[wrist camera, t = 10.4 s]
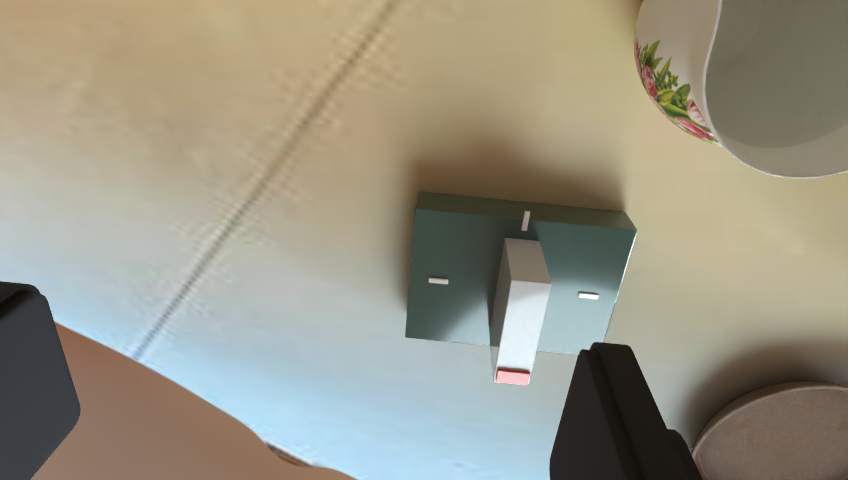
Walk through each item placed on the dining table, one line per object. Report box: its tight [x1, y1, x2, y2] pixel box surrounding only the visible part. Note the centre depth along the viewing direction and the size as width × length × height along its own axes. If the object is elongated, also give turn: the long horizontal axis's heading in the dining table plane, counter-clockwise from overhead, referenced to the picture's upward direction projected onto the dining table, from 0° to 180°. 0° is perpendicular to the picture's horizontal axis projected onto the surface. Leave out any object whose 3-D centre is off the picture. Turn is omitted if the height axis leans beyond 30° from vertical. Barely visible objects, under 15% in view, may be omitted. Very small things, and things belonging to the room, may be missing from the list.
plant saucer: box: [691, 381, 848, 480], centre depth 46 cm, size 18×18×3 cm
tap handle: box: [489, 238, 552, 385], centre depth 35 cm, size 8×2×6 cm, turn 176°
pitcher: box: [634, 0, 848, 179], centre depth 26 cm, size 11×18×14 cm, turn 47°
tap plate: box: [405, 192, 637, 355], centre depth 39 cm, size 15×12×3 cm
